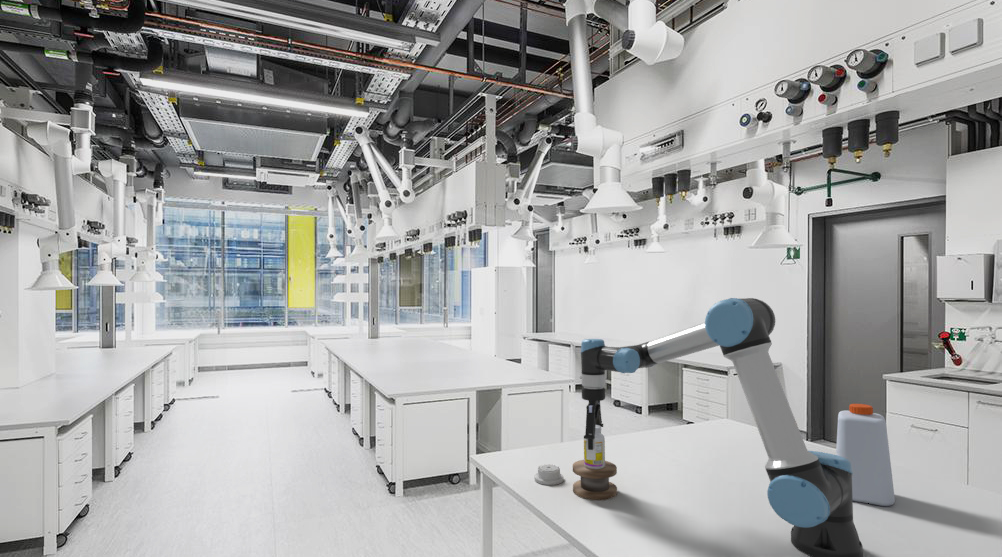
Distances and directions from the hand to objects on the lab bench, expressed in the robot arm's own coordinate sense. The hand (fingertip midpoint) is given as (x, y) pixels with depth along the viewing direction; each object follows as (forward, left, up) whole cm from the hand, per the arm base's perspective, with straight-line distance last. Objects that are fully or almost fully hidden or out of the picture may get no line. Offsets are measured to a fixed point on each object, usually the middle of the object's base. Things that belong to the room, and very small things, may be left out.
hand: (594, 453), depth 165 cm
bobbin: (0, 0, -12) cm, 12 cm away
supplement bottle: (0, 0, -4) cm, 4 cm away
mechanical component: (+13, +11, -13) cm, 22 cm away
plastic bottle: (-22, -80, -12) cm, 84 cm away
